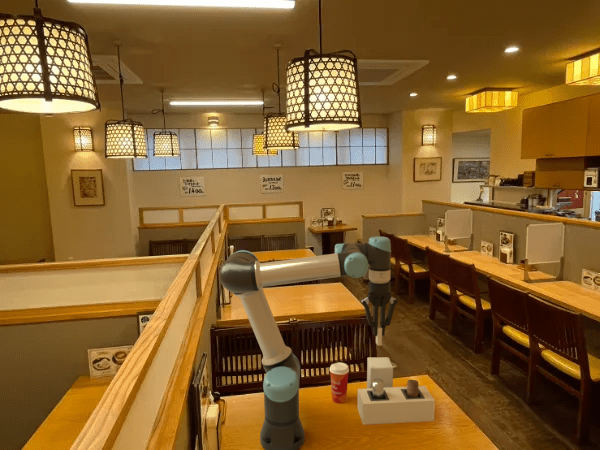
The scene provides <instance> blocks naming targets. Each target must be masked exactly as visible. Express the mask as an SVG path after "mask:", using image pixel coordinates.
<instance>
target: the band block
mask: <svg viewBox="0 0 600 450" xmlns="http://www.w3.org/2000/svg"><path fill="white" fill-rule="evenodd" d="M435 406H436V400H435V398H434V396H432V394H431V393H430V391H429V389H428V388H427V386H426V385H418V397H415V398H408V397H407V386H393V387H388V388H384V390H383V399H374V400H373V399H372V388H367V387H366V388H357V411H358V413H359V414H358V415H359V416H360V420H361V422H362V426H364V425H383V424H385V425H386V424H387V425H388V424H401V423H421V422H435V410H436V409H435Z"/></svg>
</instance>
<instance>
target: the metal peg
mask: <svg viewBox="0 0 600 450" xmlns="http://www.w3.org/2000/svg"><path fill="white" fill-rule="evenodd" d="M383 390H384V381H383V380H381V379H374V380H373V384H372V399H373V400H374V399H383Z"/></svg>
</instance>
